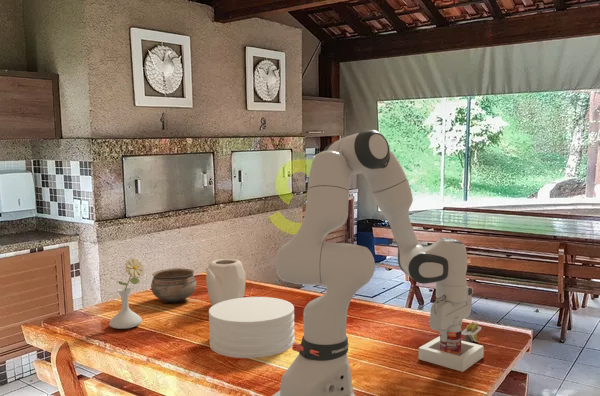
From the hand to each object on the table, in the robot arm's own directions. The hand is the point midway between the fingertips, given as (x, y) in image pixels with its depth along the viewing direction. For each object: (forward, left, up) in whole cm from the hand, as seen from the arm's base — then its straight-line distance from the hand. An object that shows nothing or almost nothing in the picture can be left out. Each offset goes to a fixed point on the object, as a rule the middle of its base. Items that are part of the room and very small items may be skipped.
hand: (450, 337), depth 156 cm
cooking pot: (-18, +118, -7) cm, 119 cm away
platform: (+16, 0, -7) cm, 17 cm away
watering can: (-10, +94, -6) cm, 95 cm away
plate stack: (-29, +56, -7) cm, 64 cm away
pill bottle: (0, 0, -5) cm, 5 cm away
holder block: (0, 0, -6) cm, 6 cm away
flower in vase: (-48, +103, -6) cm, 114 cm away
